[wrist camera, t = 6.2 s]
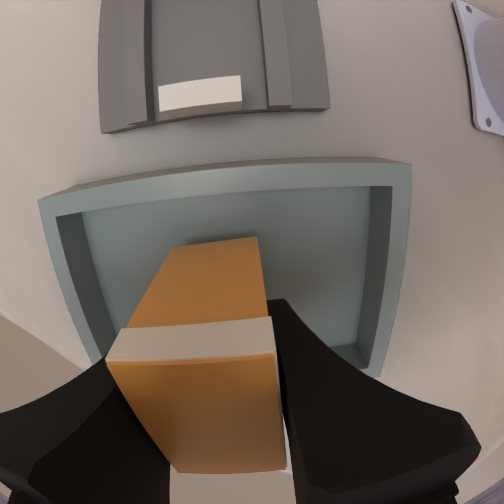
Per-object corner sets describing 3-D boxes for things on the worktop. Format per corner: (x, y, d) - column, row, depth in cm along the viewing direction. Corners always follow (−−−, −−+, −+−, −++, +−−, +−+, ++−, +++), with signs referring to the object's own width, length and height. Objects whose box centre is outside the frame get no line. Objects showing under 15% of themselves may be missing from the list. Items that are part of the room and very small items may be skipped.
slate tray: (378, 157, 11) (411, 164, 9) (362, 342, 15) (379, 376, 12) (72, 186, 11) (37, 199, 9) (121, 357, 15) (106, 390, 12)
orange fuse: (258, 234, 10) (276, 354, 4) (271, 340, 12) (287, 469, 6) (171, 246, 10) (102, 362, 4) (197, 347, 12) (176, 472, 6)
